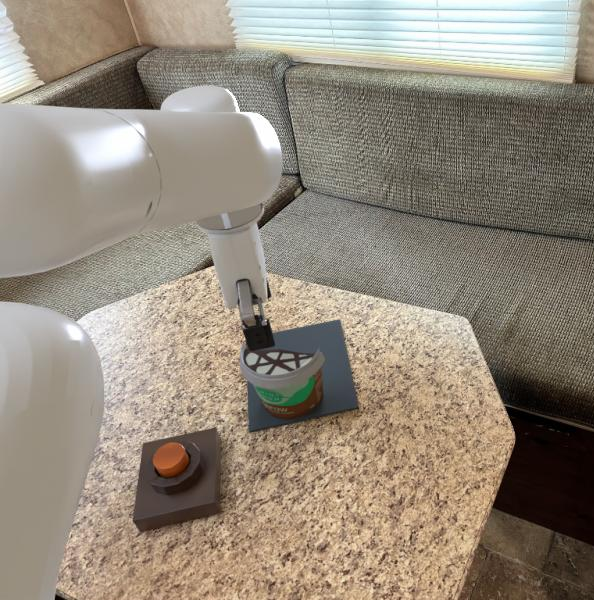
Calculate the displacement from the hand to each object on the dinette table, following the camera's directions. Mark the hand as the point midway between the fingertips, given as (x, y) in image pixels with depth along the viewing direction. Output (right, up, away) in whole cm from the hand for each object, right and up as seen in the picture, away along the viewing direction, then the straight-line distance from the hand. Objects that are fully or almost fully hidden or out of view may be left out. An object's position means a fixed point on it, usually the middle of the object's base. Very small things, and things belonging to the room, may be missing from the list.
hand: (261, 322), depth 77 cm
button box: (-11, -22, +4) cm, 25 cm away
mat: (+2, -8, +18) cm, 20 cm away
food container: (+1, -13, +12) cm, 18 cm away
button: (-12, -19, +1) cm, 22 cm away
